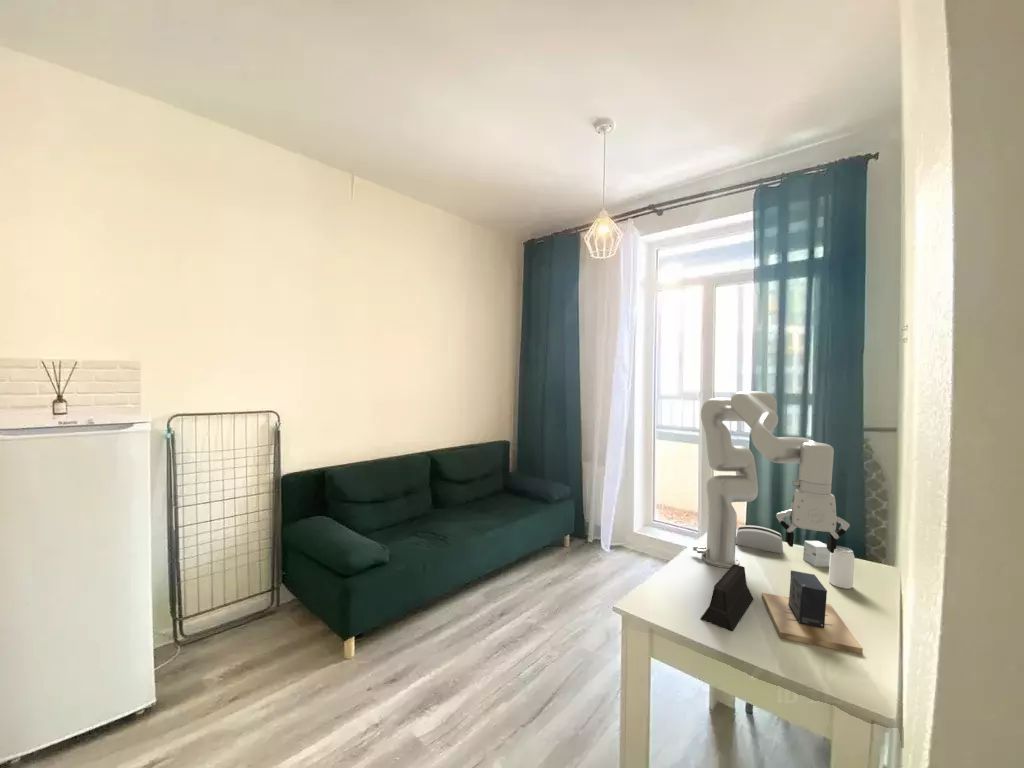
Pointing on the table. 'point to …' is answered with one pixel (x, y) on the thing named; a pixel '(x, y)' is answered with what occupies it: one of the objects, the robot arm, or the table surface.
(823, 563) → the skincare box
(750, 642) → the table surface
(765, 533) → the white arched block
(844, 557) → the can
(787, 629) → the board
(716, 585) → the barrier
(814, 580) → the small box
